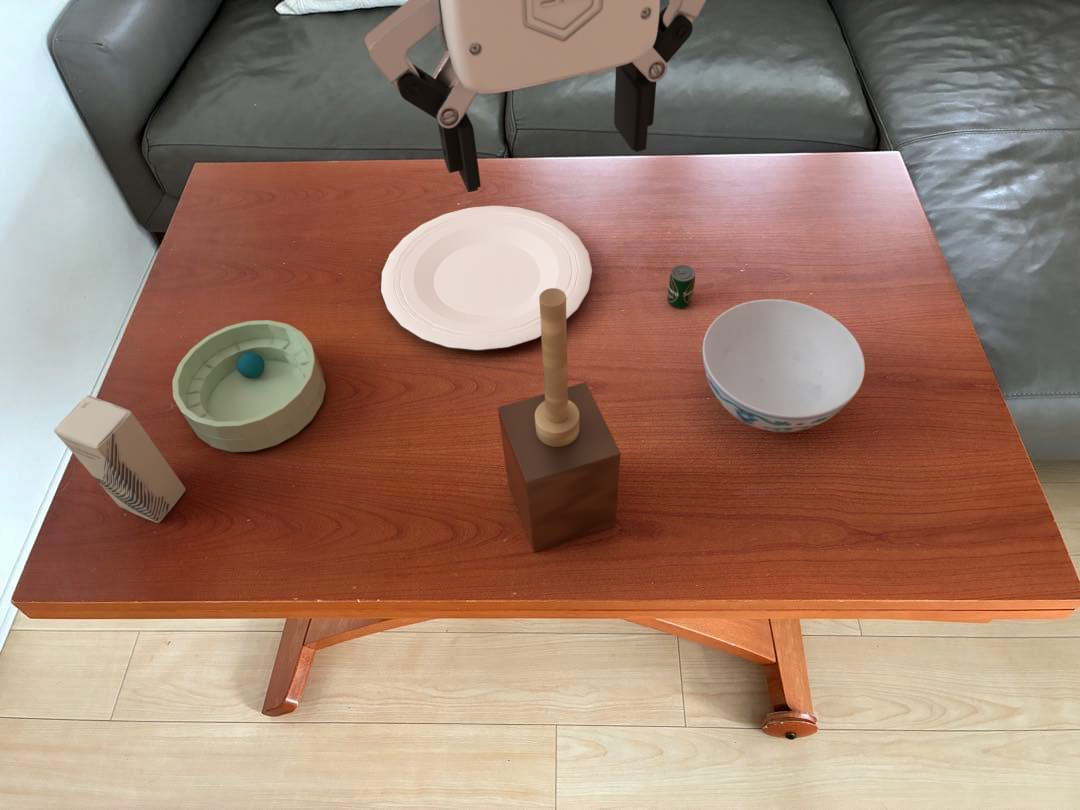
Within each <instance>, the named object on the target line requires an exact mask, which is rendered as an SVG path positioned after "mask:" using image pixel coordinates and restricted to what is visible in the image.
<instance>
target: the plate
mask: <svg viewBox="0 0 1080 810" xmlns="http://www.w3.org/2000/svg"><path fill="white" fill-rule="evenodd" d="M592 274H593V269H592V263H591V259H590V254H589V251H588V249H586V246H585V245H584V244H583V241H582V240H581V239H580V237H579V235H577V234H576V233H575V232H573V230H571V229H570V228H569V227H568V226H566V225H565V224H564V223H563V222H561V221H559V220H557V219H555V218H553V217H551V216H549V215H547V214H545V213H542V212H540V211H535V210H531V209H527V208H524V207H518V206H508V205H507V206H505V205H484V206H483V205H482V206H475V207H467V208H463V209H458V210H455V211H451V212H448V213H443V214H442V215H439V216H437V217H435V218H433V219H431V220H429V221H426V222H424V223H422V224H421V225H419V226H418V227H416V228H415V229H413V230H412V231H411V232H410V233H408V234H407V235H405V236H404V237H403V238H402V239H400V241H399V242H398V244H397V245H395V247H394V248H393V250H392V251H391V252H390V253H389V255H388V258H387V260H386V262H385V264H384V267H383V269H382V271H381V284H380V285H381V287H380V293H381V295H382V297H383V301H384V303H385V306H386V309H387V311H388V313H389V314H390V315H391V316H392V317H393V318H394V320H396V322H397V324H399V325H400V327H401V328H402V329H405V330H406V331H408V332H409V333H411V334H413V335H414V336H415V337H417V338H419V339H420V340H422V341H426V342H427V343H430V344H434V345H437V346H440V347H444V348H446V349H454V350H463V351H473V352H480V351H481V352H483V351H491V350H492V351H493V350H503V349H510V348H512V347H516V346H520V345H523V344H526V343H529V342H532V341H535V340H538V339H539V338H541V320H540V302H539V297H540V294H541V293H542V292H543V291H544V290H546V289H550V288H556V289H560V290H562V291H563V292H564V293H565V295H566V321H567V320H568V319H569V318H571V316H572V315H574V314H575V313H576V312H577V311H578V310H579V308H580V306H581V305H582V303H583V301H584V300H585V298H586V296H587V294H588V293H589V291H590V285H591V279H592Z"/></svg>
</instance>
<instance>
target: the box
mask: <svg viewBox="0 0 1080 810" xmlns="http://www.w3.org/2000/svg"><path fill="white" fill-rule="evenodd" d="M53 432H54V433H55V435H56V436H57V437H58V439H60V441H62V443H63V444H64V445H65V446H66V447H67V449H69V451H70V452H71V453H72V454H73V455H74V456H75V457H76V458H77V460H78V461H79V462H80V463H81V464H82V466H84V468H85V469H86V470H87V471H88V472H89V474H90V475H91V476H92V477H93V478H94V479H95V480H96V481H97V483H98V484H99V485H100V486H101V487H102V489H103V490H104V491H105V492H106V493H107V494H108V495H109V497H110V498H111V499H112V500H113V501H114V502H115V504H117V506H118V507H119V508H121V509H122V510H125V511H127V512H130V513H132V514H133V515H136V516H139V517H140V518H143V519H145V520H149V521H151V522H154V523H157V524H159V523H160V522H162V520H163V519H164V518H165V517H166V516H167V515H168V513H169V512H170V511H171V510H172V509H173V507H175V505H176V504H177V503H178V501H179V500H180V499H181V497H182V496H183V495H184V494H185V492H186V491H187V489H186V487H185V485H184V484H183V483H182V481H181V480H180V479H179V477H178V475H177V474H176V473H175V471H174V470H173V469H172V467H171V466H170V465H169V463H168V462H167V460H166V459H165V457H164V456H163V454H162V452H161V451H160V450H159V449H158V447H157V446H156V445H155V443H154V442H153V440H152V439H151V438H150V436H149V435H148V433H147V432H146V430H145V429H144V427H143V425H141V424H140V422H139V421H138V419H137V417H136V416H135V415H134V414H133V412H132V411H131V410H129V409H128V408H127V409H126V408H124V407H123V406H119V405H117V404H115V403H112V402H109V401H107V400H104V399H100V398H97V397H95V396H93V395H88V394H87V395H86V396H85V397H84V398H82V399H81V400H80V401H79V403H78V404H77V405H76V406H75V407H73V408H72V410H71V411H70V412H68V414H67V415H66V416H65V417H64V418H63V419H62V420H61V421H60V422H59V423H58V425H56V426H55V428H54V429H53Z"/></svg>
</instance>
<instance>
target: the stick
mask: <svg viewBox="0 0 1080 810" xmlns="http://www.w3.org/2000/svg"><path fill="white" fill-rule="evenodd" d="M539 302H540V320H541V337H540V338H541V350H542V351H541V354H542V370H543V371H542V373H543V388H544V394H545V401H544V402H542V403H541V404H540V405H539V406H538V407H537V409H536V411H535V426H536V434H537V436H538V438H539V439H540V440H541V441H542V442H543V443H545V444H546V445H549V446H553V447H562V446H566V445H568V444H570V443H572V442H573V441H574V440H575V439H576V438H577V436H578V434H579V410H578V408H577V407H576V405H575V404H574V403H573V402H571V401H569V400H568V387H569V384H568V383H569V381H568V379H569V378H568V336H567V335H568V334H567V333H568V331H567V329H568V328H567V327H568V325H567V320H566V295H565V293H564V292H563V291H562V290H560V289H556V288H550V289H546V290H544V291H543V292H542V293H541V294H540V297H539Z"/></svg>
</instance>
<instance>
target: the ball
mask: <svg viewBox="0 0 1080 810" xmlns="http://www.w3.org/2000/svg"><path fill="white" fill-rule="evenodd" d="M264 367H265V364H264V361H263V359H262V357H261V356H260V355H258V354H256V353H253V352H248V353H245V354H243V355H241V356H240V357H239V359H238V361H237V369H238V371H239V373H240V374H241V375H242V376H244V377H246V378H256V377H258V376H259V375H261V374H262V372H263V370H264Z"/></svg>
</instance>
